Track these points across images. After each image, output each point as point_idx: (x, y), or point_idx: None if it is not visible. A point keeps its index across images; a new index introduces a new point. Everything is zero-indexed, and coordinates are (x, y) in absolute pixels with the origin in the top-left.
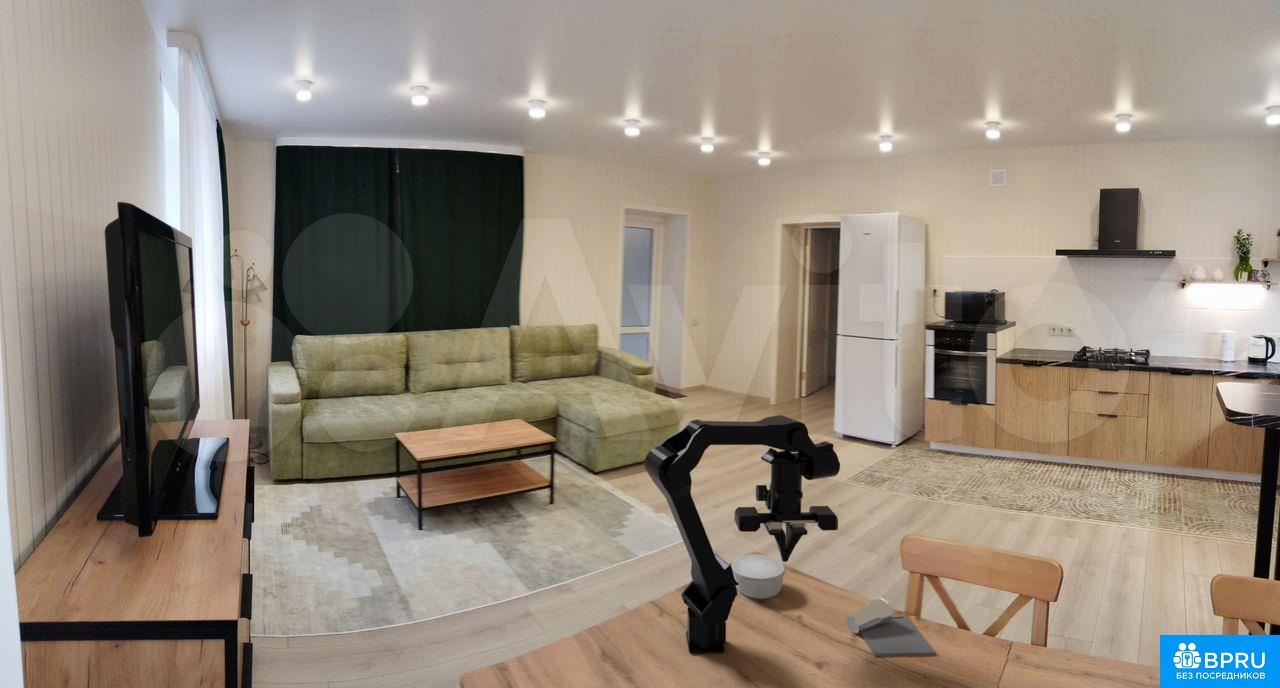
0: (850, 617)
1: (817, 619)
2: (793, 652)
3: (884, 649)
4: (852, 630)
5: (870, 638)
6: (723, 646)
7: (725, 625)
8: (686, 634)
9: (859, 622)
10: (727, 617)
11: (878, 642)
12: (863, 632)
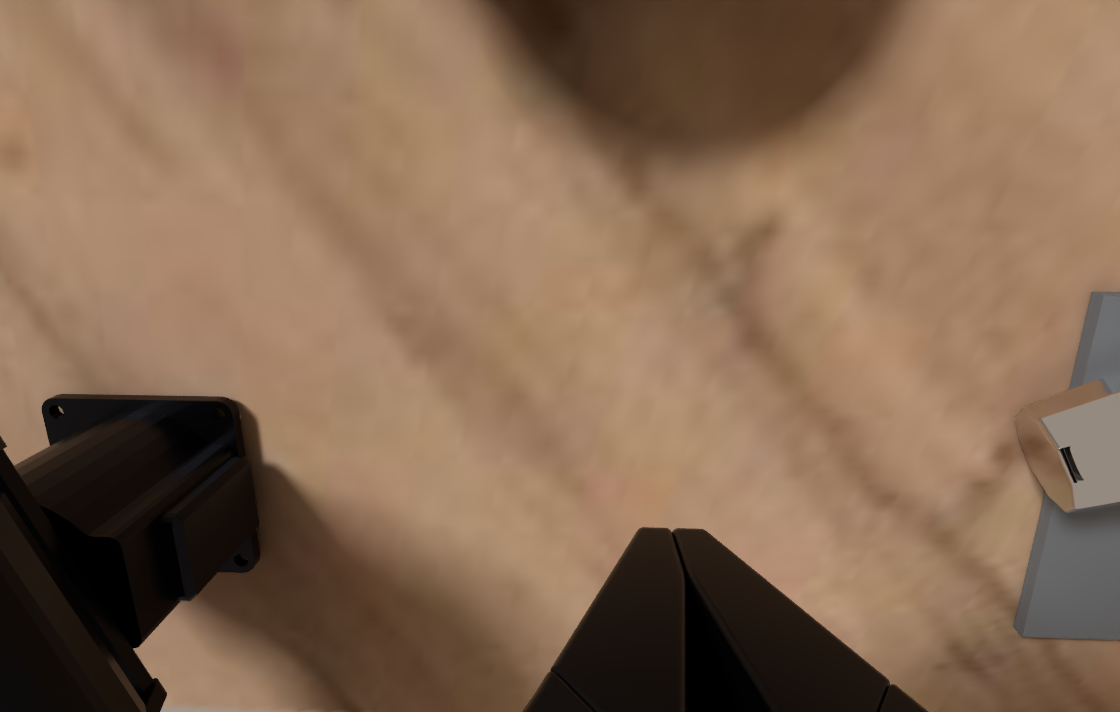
0: (1062, 471)
1: (865, 276)
2: (608, 573)
3: (1095, 610)
4: (1021, 438)
5: (1081, 515)
6: (249, 543)
7: (200, 589)
8: (47, 434)
9: (1092, 508)
10: (158, 708)
11: (1103, 552)
12: None
